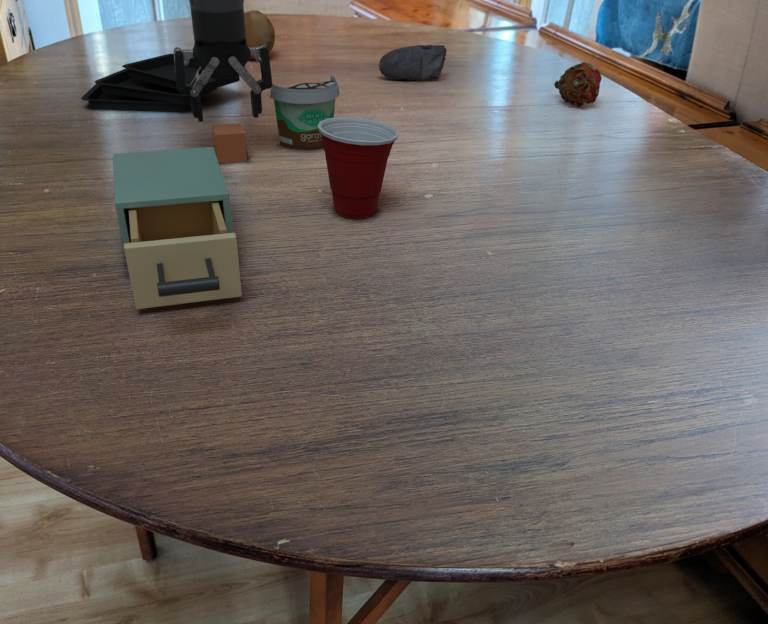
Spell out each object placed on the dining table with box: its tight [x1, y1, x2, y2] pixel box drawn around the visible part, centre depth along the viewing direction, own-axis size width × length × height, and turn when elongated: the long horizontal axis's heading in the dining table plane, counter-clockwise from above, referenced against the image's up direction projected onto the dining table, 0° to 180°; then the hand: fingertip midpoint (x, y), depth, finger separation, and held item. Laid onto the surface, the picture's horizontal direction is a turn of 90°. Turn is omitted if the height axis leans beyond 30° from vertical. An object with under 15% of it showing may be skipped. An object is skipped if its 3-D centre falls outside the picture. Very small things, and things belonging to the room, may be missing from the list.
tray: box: [81, 53, 241, 113], centre depth 139 cm, size 30×23×5 cm
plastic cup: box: [318, 116, 400, 220], centre depth 99 cm, size 11×11×12 cm
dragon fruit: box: [553, 61, 603, 108], centre depth 146 cm, size 8×8×12 cm
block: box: [211, 123, 248, 165], centre depth 116 cm, size 5×5×5 cm
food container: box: [269, 74, 341, 151], centre depth 120 cm, size 12×6×10 cm, turn 126°
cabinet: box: [112, 146, 234, 274], centre depth 91 cm, size 16×13×9 cm
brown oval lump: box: [244, 9, 276, 61], centre depth 164 cm, size 10×10×10 cm
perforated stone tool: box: [378, 44, 447, 81], centre depth 155 cm, size 15×5×7 cm, turn 99°
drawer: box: [123, 201, 243, 310], centre depth 81 cm, size 20×11×7 cm, turn 17°
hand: (227, 118), depth 113 cm, fingers open, 8 cm apart
